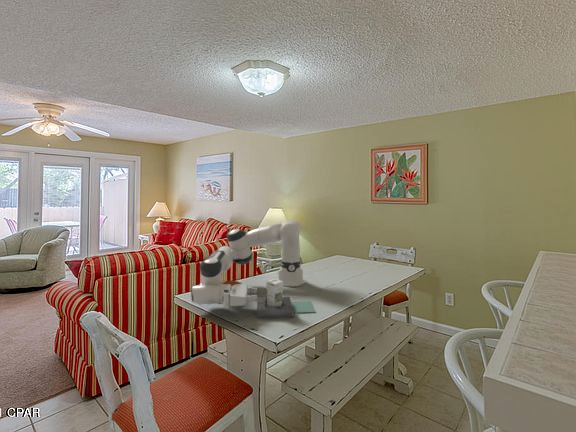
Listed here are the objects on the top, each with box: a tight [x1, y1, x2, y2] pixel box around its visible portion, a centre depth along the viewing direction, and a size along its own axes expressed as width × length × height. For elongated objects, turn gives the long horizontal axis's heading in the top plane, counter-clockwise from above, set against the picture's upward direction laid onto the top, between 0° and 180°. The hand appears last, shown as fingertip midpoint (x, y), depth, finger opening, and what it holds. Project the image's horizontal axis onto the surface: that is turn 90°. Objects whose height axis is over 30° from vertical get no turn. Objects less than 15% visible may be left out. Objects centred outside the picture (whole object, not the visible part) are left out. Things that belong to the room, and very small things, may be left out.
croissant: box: [222, 280, 243, 287], centre depth 167 cm, size 14×16×8 cm
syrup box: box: [265, 278, 284, 306], centre depth 143 cm, size 6×6×14 cm
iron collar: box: [256, 296, 294, 320], centre depth 143 cm, size 16×16×4 cm
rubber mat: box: [291, 300, 316, 314], centre depth 149 cm, size 14×10×1 cm
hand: (257, 293), depth 142 cm, fingers open, 8 cm apart
